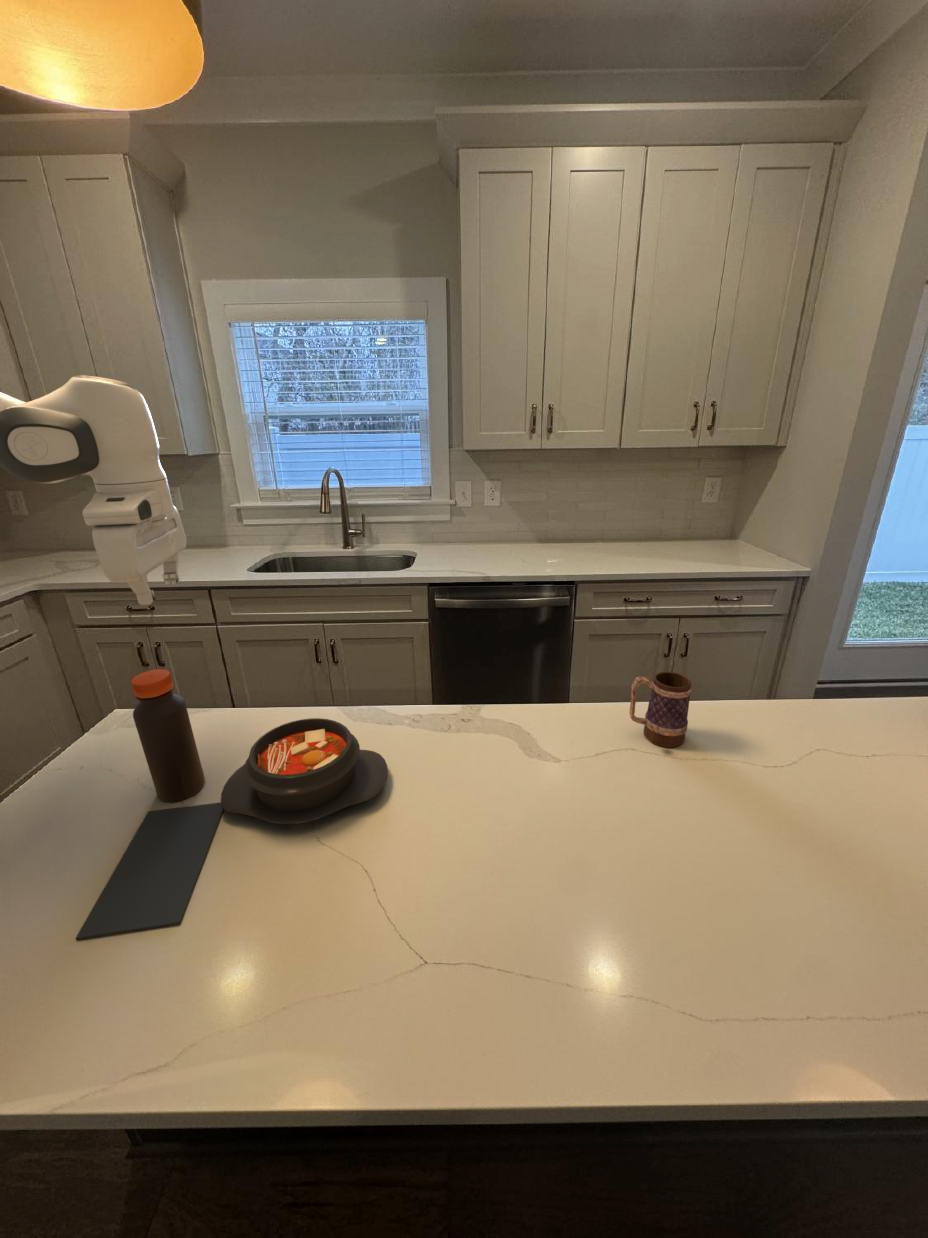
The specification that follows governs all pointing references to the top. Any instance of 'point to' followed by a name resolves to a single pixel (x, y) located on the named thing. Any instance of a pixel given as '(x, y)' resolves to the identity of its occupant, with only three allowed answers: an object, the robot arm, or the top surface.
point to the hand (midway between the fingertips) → (160, 592)
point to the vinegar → (166, 736)
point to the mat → (155, 872)
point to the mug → (664, 708)
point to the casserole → (304, 773)
